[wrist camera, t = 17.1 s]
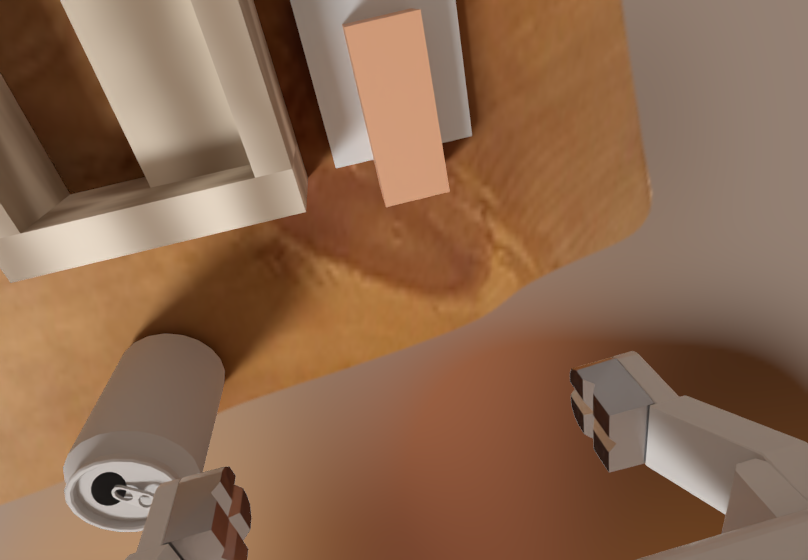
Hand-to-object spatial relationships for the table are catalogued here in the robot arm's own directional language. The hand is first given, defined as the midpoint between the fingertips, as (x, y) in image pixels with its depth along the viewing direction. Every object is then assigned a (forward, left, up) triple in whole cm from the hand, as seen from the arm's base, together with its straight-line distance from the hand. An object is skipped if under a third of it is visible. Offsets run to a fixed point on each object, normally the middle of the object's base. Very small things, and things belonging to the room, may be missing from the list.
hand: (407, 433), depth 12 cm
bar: (+3, +2, -23) cm, 24 cm away
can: (-17, -13, -24) cm, 32 cm away
